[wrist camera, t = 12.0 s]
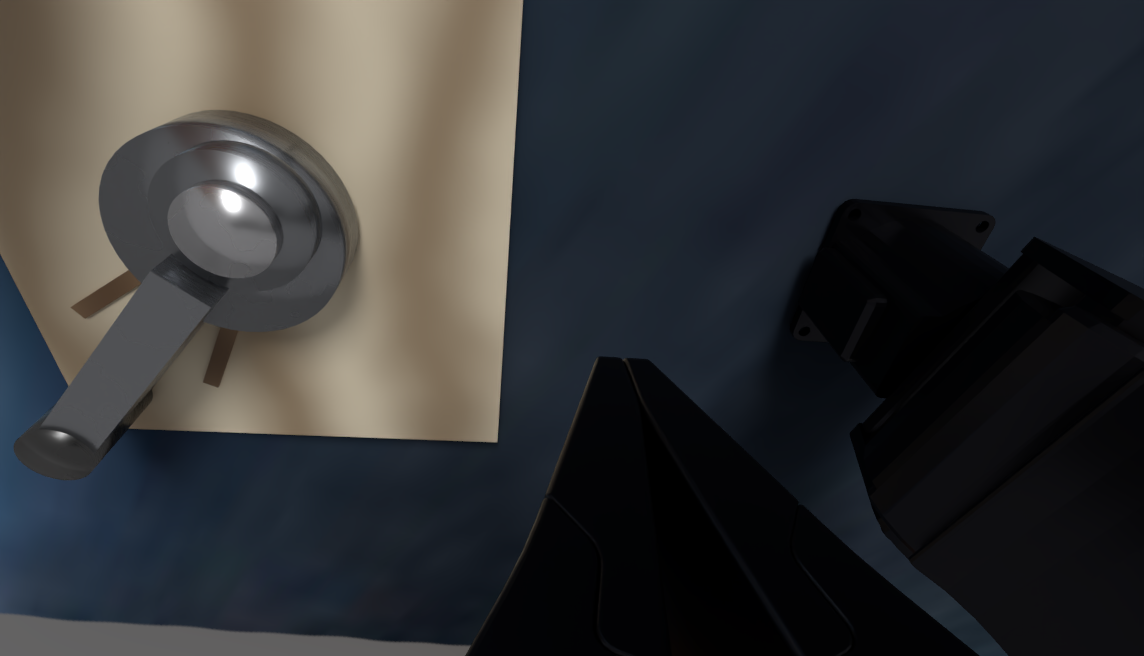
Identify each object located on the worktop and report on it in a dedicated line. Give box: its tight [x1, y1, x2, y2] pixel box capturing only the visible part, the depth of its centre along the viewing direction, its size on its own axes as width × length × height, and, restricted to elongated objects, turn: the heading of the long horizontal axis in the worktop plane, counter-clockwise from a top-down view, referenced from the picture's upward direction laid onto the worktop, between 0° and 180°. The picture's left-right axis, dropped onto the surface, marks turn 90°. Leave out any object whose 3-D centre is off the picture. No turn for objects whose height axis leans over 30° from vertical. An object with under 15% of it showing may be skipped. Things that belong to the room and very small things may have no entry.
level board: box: [0, 0, 523, 442], centre depth 20 cm, size 18×20×1 cm
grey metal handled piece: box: [14, 110, 358, 480], centre depth 19 cm, size 15×7×4 cm, turn 134°
